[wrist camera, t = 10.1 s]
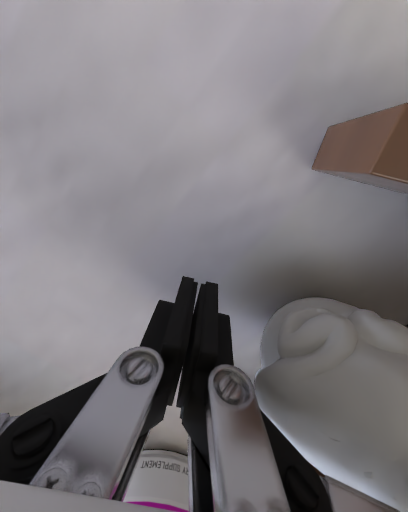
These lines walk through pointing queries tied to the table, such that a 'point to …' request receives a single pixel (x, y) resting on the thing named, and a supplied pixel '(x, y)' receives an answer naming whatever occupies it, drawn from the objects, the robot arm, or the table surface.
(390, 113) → the walnut stand
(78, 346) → the table surface
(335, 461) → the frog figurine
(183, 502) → the supplement can
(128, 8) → the table surface
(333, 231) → the table surface
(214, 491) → the robot arm
